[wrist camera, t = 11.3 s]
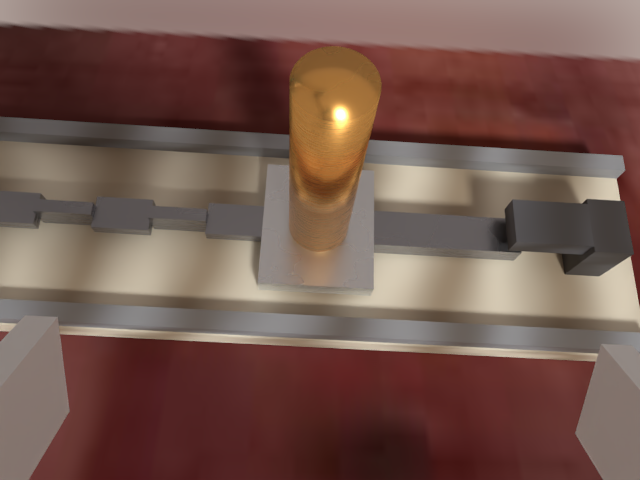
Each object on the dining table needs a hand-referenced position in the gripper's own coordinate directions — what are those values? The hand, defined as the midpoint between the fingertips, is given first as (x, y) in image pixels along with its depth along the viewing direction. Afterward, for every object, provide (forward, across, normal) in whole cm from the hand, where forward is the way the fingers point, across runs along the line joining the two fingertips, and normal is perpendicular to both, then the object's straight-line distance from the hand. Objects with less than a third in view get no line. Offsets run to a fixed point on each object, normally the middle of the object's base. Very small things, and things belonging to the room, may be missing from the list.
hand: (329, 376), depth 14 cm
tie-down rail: (+20, -7, -5) cm, 21 cm away
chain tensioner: (+18, -5, -3) cm, 19 cm away
